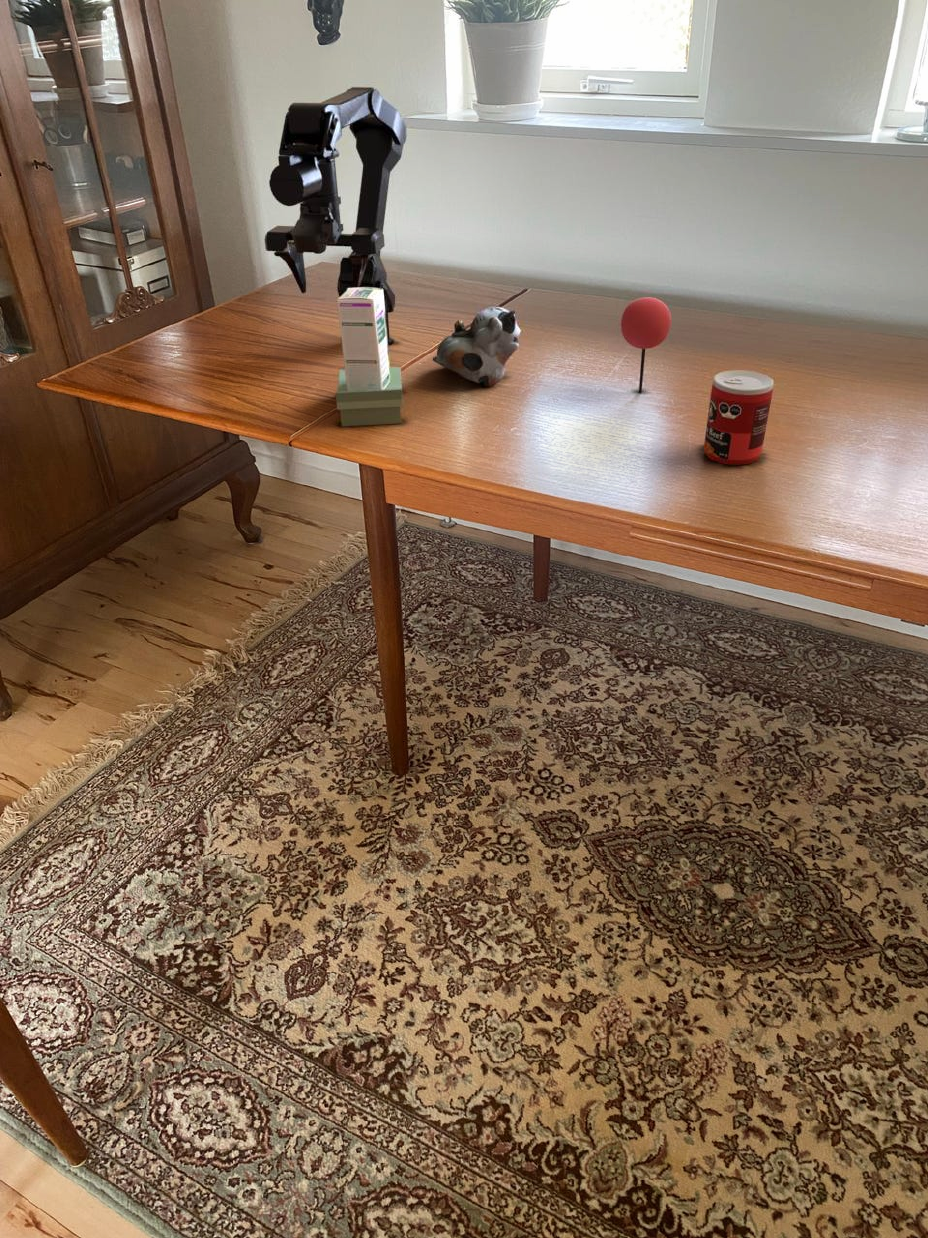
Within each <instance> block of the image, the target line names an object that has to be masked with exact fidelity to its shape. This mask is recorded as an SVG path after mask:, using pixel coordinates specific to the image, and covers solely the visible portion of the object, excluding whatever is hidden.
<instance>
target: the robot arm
mask: <svg viewBox="0 0 928 1238" xmlns="http://www.w3.org/2000/svg"><path fill="white" fill-rule="evenodd" d="M284 117H285V118H284V123H283V128H282V134H281V138H280V144H279V150H278V156H277V159H278V165H277V166H275V167H274V168H273V169H272V171H271V173H270V177H269V180H268V184H269V189H270V192H271V194H272V196H273V197H274V199H275V200H276V201H277V202H278V203H279V204H281V205H283V206H285V207H293V206H297V205H299V217H298V219H297V220H296V222H295V224H294V225H276V226H275V227H273V228H271V229H270V230H268V231H267V232H266V233H265V235H264V239H263V241H264V247H265V251H266V252H273V254H274V256H275V257H279V258H280V259H282V260H283V261H284V262H285V263H286V264H287V266H288V268H289V270H290V272H291V273H292V276H293V278H294V280H295V282H296V284H297V286H298V288H299V290H300V293H301V294H305V293H307V278H306V268H305V260H304V259H305V258H304V253H311V254H312V253H314V254H315V255H321V254H324V253H325V252H326V249H327V247H346V248H347V247H348V248H349V247H350V249H351V250H352V251H351V253H350V254H349V255H348V257H346V256H345V257H342V259H341V261H340V263H339V266H340V268H339V275H338V278H337V285H336V286H337V287H336V289H337V294H338V299H339V298H340V296H341V295H342V294H344V293H345V292H346V291H347V289H348V288H357V287H372V288H380V289H383V293H384V305H385V316H386V326H387V338H388V345H392V344H395V339H393V338H392V337H390V324H389V323H390V321H389V313H390V314H391V313H393V312H394V311H395V306H396V294H395V293H394V291H393V290H392V289H391V287H390V285H389V283H388V282H387V280H388V279H387V277H388V273H387V270H386V268H385V266H384V263H383V261H382V258H381V252H382V251H381V250H382V249H383V248H384V247H385V245H386V244H385V234H384V228H385V227H384V225H385V217H386V208H387V200H388V193H389V183H390V178H391V177H390V176H391V172H392V171H393V169H394V168H395V167H396V165H397V164H398V163H399V161H400V160H401V159H402V154H403V150H404V145H405V144H406V141H407V127H406V126H407V125H406V124H405V122H404V120H403V118H402V115H401V114H400V112H399V110H398V109H397V108H395V106H393V105H392V104H390V103H389V101H387V100H385V99H384V98H383V97H382V95H381V93H380V91H379V89H377V88H374V87H371V86H352V87H350V88H347V90H345V91H344V92H341V93H339V94H337V95H335V96H333V97H330V98H328V99H326V100H323V101H321V102H292V103H291V104H289V106H288V108H287V112H286V114H285V116H284ZM347 127H348V128H349V131H350V133H352V135H353V137H354V138H355V149H356V152H357V154H358V156H359V159H360V161H361V163H362V170H361V180H360V189H359V196H358V204H357V205H358V206H357V214H356V222H355V231H354V232H353V233H342V232H343V231H344V223H341V211H340V205H341V204H342V199H341V196H339V192H338V191H339V190H338V189H339V188H338V180H337V170H336V169H337V168H336V159H337V158H339V156H340V152H339V150H338V149H336V147H335V146H336V143H337V142H338V141H339V140H340V139H341V137H343V132H342V130H343V129H345V128H347Z"/></svg>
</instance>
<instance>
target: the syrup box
mask: <svg viewBox="0 0 928 1238" xmlns="http://www.w3.org/2000/svg"><path fill="white" fill-rule="evenodd" d="M336 303H337V312H338V321H339V331H340V338H341V349H342V357H343V364H344V370H345V374H346V383H347V390H348V391H359V390H379V389H385V388H386V387H387V385H388V384H389V382H390V381H391V372H390V367H391V363H390V353H389V352H390V351H389V344H388V338H387V326H386V316H385V305H384V293H383V289H380V288H372V287H357V288H348V289H347V291H346V292H345V293H344V294H342V295H341V296H340V298H339V297H338V298H337V299H336Z"/></svg>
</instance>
